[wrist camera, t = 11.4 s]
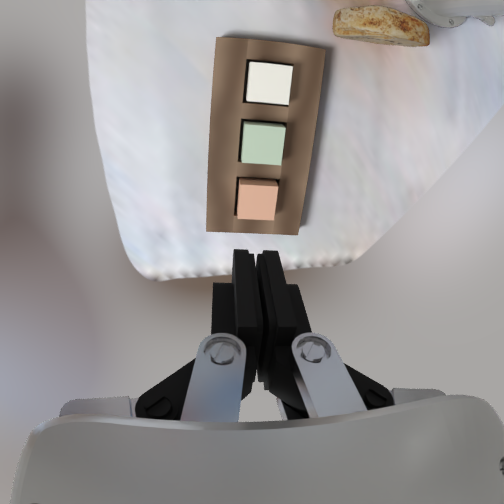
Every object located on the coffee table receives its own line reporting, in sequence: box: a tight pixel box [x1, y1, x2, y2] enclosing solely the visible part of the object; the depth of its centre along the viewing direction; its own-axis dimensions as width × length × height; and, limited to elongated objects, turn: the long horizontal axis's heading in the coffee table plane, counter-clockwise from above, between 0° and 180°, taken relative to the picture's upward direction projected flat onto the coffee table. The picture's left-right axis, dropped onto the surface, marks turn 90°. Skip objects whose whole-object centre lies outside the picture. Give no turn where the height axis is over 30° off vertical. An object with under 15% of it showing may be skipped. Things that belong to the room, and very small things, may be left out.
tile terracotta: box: [237, 177, 278, 220], centre depth 37 cm, size 4×4×2 cm
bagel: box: [333, 5, 430, 47], centre depth 24 cm, size 10×4×10 cm, turn 91°
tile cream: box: [246, 62, 293, 105], centre depth 30 cm, size 4×4×2 cm
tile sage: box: [241, 121, 286, 165], centre depth 33 cm, size 4×4×2 cm
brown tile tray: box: [206, 37, 326, 235], centre depth 34 cm, size 12×24×2 cm, turn 175°
